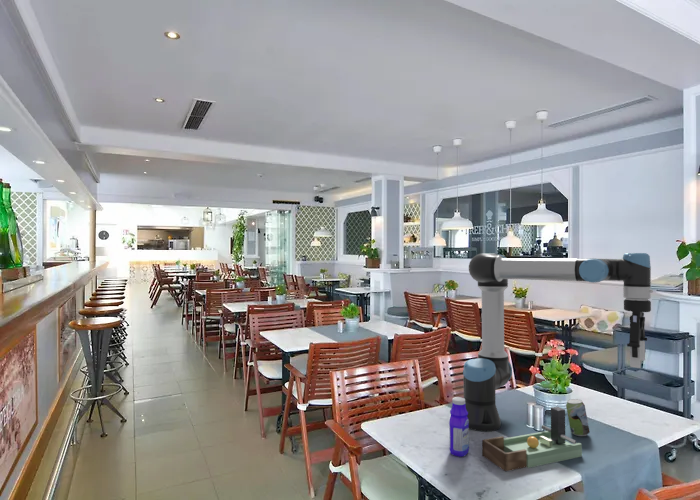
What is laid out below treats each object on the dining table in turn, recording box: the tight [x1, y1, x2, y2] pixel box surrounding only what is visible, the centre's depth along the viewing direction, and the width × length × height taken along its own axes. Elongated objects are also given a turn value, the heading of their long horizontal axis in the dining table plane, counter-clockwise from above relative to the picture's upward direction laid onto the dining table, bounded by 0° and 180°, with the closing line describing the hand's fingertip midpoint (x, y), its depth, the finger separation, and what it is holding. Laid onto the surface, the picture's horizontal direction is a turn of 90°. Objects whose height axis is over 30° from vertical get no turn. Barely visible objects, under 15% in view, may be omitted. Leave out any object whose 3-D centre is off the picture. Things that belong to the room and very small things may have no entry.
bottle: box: [448, 396, 470, 458], centre depth 139 cm, size 7×6×17 cm
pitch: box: [504, 430, 583, 469], centre depth 138 cm, size 22×12×4 cm, turn 110°
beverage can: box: [565, 398, 590, 437], centre depth 154 cm, size 6×7×12 cm
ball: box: [527, 436, 539, 448], centre depth 137 cm, size 4×4×4 cm
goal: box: [481, 435, 527, 472], centre depth 133 cm, size 8×11×5 cm
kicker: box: [540, 406, 577, 447], centre depth 140 cm, size 7×13×11 cm, turn 20°
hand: (637, 363), depth 143 cm, fingers open, 13 cm apart
